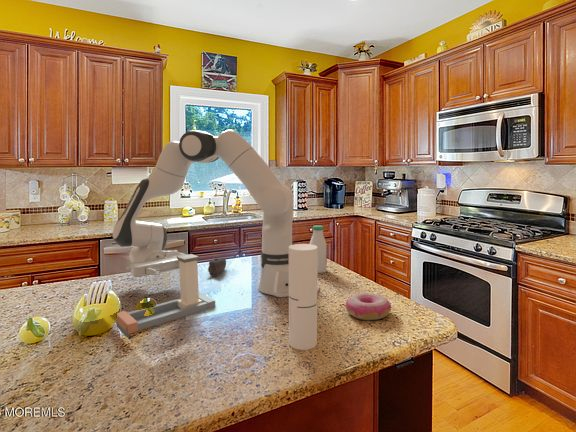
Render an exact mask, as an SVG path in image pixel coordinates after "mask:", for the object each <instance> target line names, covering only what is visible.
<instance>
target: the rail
mask: <svg viewBox="0 0 576 432" xmlns="http://www.w3.org/2000/svg"><path fill="white" fill-rule="evenodd" d="M199 299H200V300H202V303H200V304H196V305H193V306H190V307H186V308H183V309H181V308H179V307H178V300H181V297H179V298H176V299H172V300H169V301H165V302H162V303H158V304H155V305H156V306H155V307H153V308H154V309H155V313H154V314H153V315H149V316H144V314H145V312H146V310H147V309H145V310H139V309H137V310H132V311H128V312H127V311H126V310H122V311H119V314H118V315H117V316H118V317H117V320H115V322H116V328H117V329H118V330H119V331H121V333H122V334H123V335H124V336H125V337H126V338H127V339H128V340H132V339H133V337H132V336H131V335H130V334H132V333H136V332H139V331H142V330H146V329H149V328H152V327H156V326H159V325H162V324H164V323H168V322H172V321H174V320H177V319H180V318H184V317H188V316H190V315H193V314H197V313H200V312H203V311H207V310H210V309H213V308H216V300H215V299H214V298H211V297H209V296H207V295H206V294H204V293H201V292H199Z"/></svg>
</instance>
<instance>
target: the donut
mask: <svg viewBox="0 0 576 432" xmlns="http://www.w3.org/2000/svg"><path fill="white" fill-rule="evenodd" d="M391 308H392V305H391V303H390V301H389V300H388V299H387V298H385V297H384V296H382V295H379V294H377V293H376V294H375V293H369V292H363V293H361V292H360V293H359V292H358V293H355V294H352V295H351V296H350V297H348V298H347V299H346V302H345V310H346V311H347V313H348V314H349V315H350V316H351V317H354V318H356V319H358V320H364V321H378V320H381V319H383V318H386V317H387V316H388V315H389V314H390V313H391Z"/></svg>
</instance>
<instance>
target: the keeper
mask: <svg viewBox="0 0 576 432" xmlns="http://www.w3.org/2000/svg"><path fill="white" fill-rule="evenodd" d="M177 260H179V269H178V270H179V271H178V272H179V288H180V290H179V291H180V298H181V300H178V307H179V308H181V309H183V308H186V307H190V306H193V305H196V304H200V303H202V300H200V299H199V276H198V275H199V271H198V267H199V266H198V261H199V260H200V256H198V255H196V254H193V253H190V254H189V253H188V254H186V255H183V256H178V257H177Z"/></svg>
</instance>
